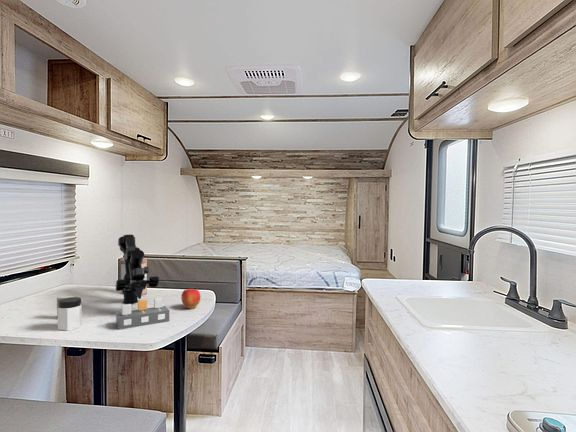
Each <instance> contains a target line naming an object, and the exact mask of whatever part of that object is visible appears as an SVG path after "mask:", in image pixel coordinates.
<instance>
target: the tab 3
mask: <svg viewBox="0 0 576 432" xmlns="http://www.w3.org/2000/svg"><path fill="white" fill-rule="evenodd" d="M163 302H164V300H163V297H157V298H156V297H155V298H154V299H153V307H154V308H160V307H163V306H164V303H163Z"/></svg>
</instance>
